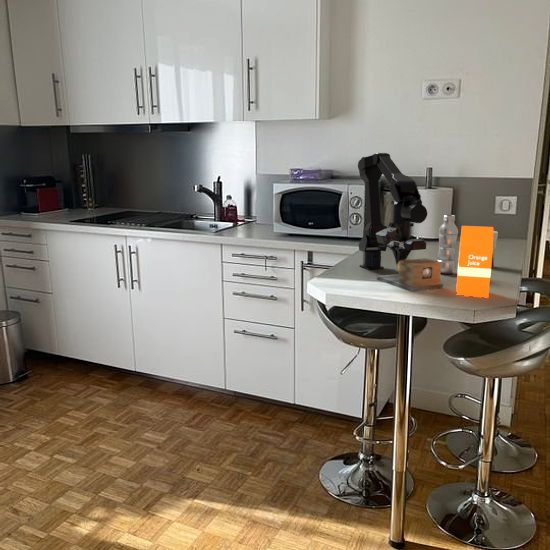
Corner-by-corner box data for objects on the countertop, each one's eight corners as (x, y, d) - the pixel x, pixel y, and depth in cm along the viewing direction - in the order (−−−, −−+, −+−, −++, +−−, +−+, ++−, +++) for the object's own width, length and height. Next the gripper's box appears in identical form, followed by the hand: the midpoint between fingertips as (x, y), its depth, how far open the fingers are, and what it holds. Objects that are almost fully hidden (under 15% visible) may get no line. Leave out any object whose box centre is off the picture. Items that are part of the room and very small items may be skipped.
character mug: (500, 269, 196) (504, 233, 193) (481, 269, 195) (484, 233, 192) (487, 263, 206) (490, 229, 203) (468, 263, 206) (471, 229, 203)
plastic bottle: (450, 271, 193) (455, 214, 188) (457, 275, 186) (462, 216, 182) (432, 271, 193) (436, 214, 188) (439, 275, 186) (443, 216, 182)
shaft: (396, 274, 176) (397, 258, 175) (409, 273, 178) (410, 257, 177) (420, 282, 166) (421, 265, 164) (433, 280, 168) (434, 264, 167)
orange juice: (455, 289, 167) (461, 224, 163) (486, 291, 165) (492, 225, 160) (456, 295, 160) (461, 227, 156) (488, 298, 157) (495, 228, 153)
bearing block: (376, 279, 180) (377, 255, 178) (406, 275, 185) (407, 252, 183) (411, 291, 164) (413, 265, 162) (442, 287, 169) (444, 262, 167)
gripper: (364, 217, 180) (362, 264, 183) (399, 224, 163) (396, 275, 167) (392, 216, 184) (389, 261, 188) (429, 222, 168) (425, 272, 171)
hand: (399, 267), depth 178 cm, fingers closed
